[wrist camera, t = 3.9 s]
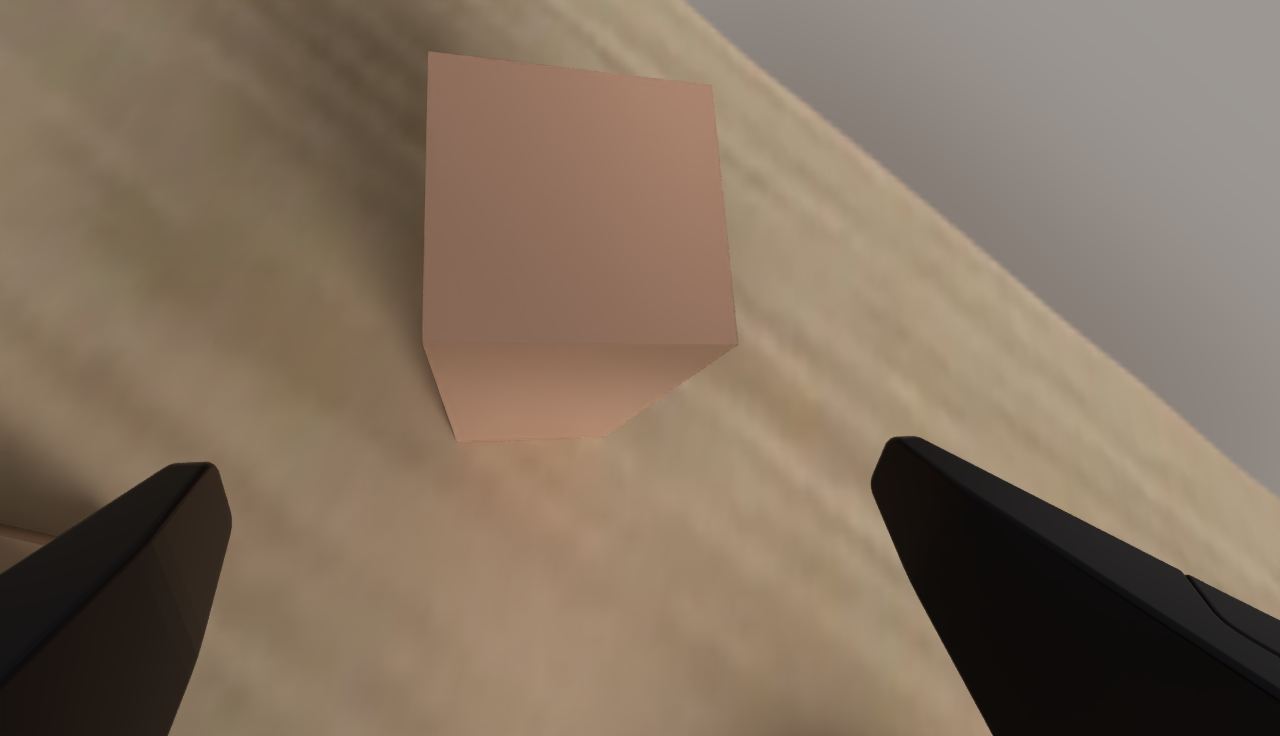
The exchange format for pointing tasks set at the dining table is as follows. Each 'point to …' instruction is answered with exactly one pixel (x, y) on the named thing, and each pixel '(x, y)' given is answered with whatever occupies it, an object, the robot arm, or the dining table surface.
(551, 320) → the terracotta block
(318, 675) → the dining table surface
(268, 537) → the dining table surface
